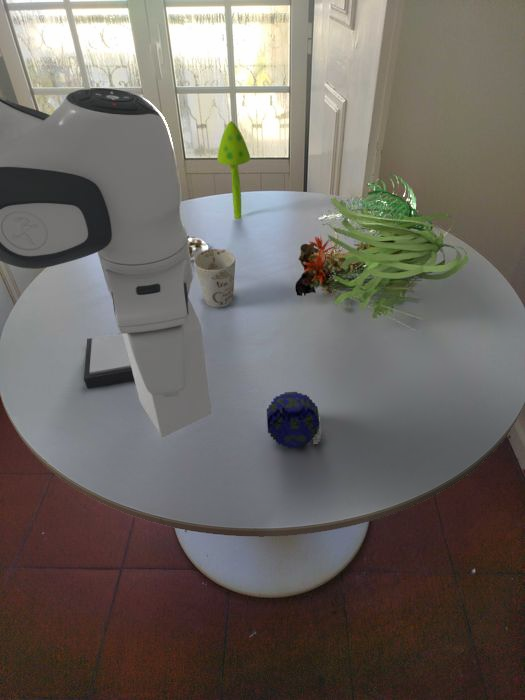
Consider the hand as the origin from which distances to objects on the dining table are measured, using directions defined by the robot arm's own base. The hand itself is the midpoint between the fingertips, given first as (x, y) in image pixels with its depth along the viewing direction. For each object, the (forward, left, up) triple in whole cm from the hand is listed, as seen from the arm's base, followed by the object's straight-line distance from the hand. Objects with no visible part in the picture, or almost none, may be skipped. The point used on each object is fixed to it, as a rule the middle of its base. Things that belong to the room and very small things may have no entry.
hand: (168, 364), depth 57 cm
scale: (-10, +25, -20) cm, 33 cm away
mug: (+10, +42, -20) cm, 48 cm away
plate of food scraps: (+5, +63, -20) cm, 66 cm away
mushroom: (+21, +77, -20) cm, 82 cm away
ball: (+16, +1, -20) cm, 26 cm away
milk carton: (0, 0, -8) cm, 8 cm away
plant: (+41, +35, -20) cm, 58 cm away
